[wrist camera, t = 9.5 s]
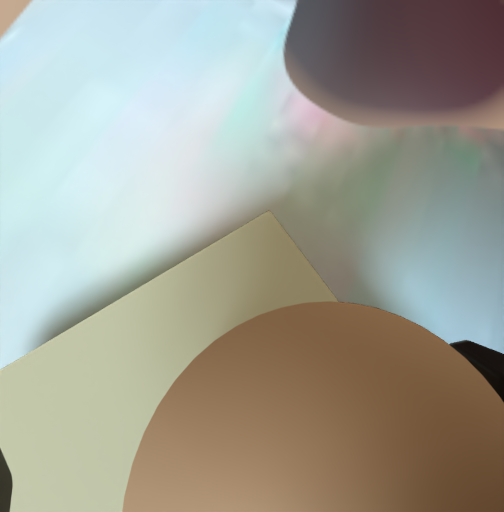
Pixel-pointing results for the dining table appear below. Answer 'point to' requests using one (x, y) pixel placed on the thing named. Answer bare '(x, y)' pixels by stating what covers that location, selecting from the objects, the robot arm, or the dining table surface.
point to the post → (323, 421)
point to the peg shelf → (134, 366)
